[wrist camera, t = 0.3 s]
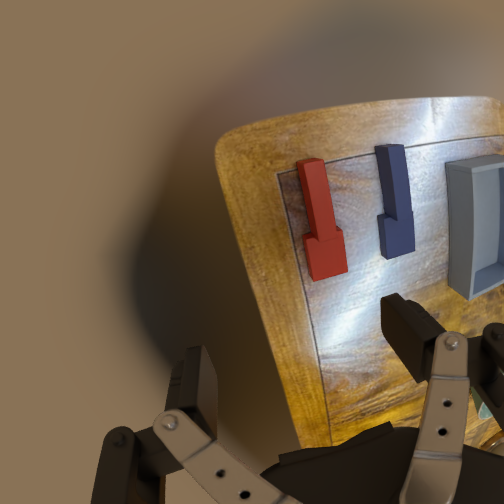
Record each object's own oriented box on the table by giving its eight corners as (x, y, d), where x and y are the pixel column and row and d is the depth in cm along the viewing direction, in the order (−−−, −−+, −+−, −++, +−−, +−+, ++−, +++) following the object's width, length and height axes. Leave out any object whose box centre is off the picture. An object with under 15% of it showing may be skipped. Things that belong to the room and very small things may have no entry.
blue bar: (366, 147, 26) (379, 148, 24) (397, 142, 26) (411, 143, 24) (381, 255, 30) (392, 264, 27) (408, 246, 30) (421, 255, 27)
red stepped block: (286, 163, 26) (292, 165, 24) (324, 155, 26) (333, 157, 24) (309, 276, 30) (316, 287, 28) (343, 266, 30) (352, 277, 28)
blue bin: (444, 162, 27) (471, 167, 23) (497, 154, 27) (522, 158, 23) (447, 285, 32) (468, 301, 28) (497, 263, 32) (517, 275, 28)
